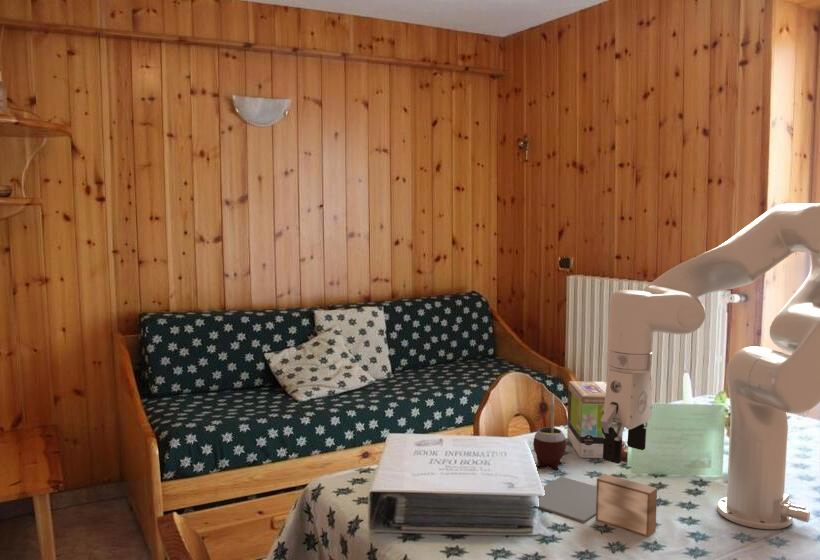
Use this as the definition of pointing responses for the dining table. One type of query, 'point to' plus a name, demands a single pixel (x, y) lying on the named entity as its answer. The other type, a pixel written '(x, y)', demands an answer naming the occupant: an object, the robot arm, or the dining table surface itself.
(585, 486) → the mat
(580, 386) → the tea box
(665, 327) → the robot arm
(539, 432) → the mate gourd
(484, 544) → the dining table surface
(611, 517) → the slab
